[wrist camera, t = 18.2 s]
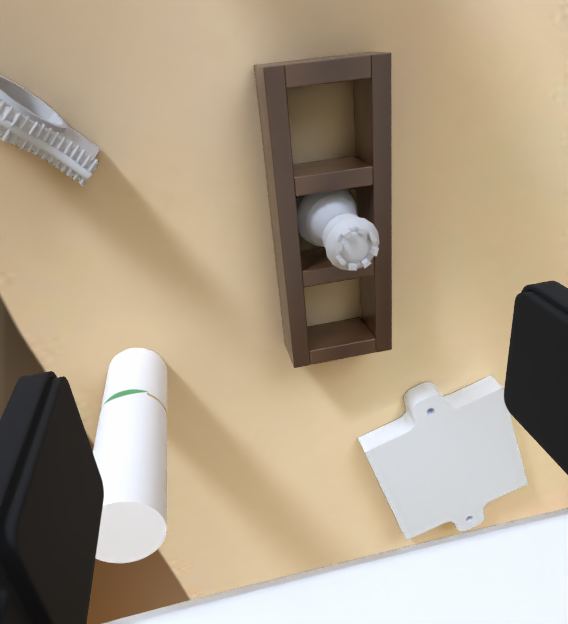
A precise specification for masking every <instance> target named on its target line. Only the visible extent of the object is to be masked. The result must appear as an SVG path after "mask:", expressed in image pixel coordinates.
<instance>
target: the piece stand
mask: <svg viewBox="0 0 568 624" xmlns="http://www.w3.org/2000/svg"><path fill="white" fill-rule="evenodd" d="M254 70H255V79H256V88H257V97H258V106H259V115H260V124H261V133H262V142H263V151H264V160H265V169H266V179H267V188H268V197H269V206H270V215H271V224H272V233H273V242H274V251H275V260H276V269H277V278H278V287H279V296H280V305H281V314H282V323H283V332H284V341H285V346H286V348H287V351H288V354H289V356H290V359H291V361H292V364H293V366H294V368H297V367H302V366H307V365H310V364H316V363H322V362H327V361H332V360H337V359H343V358H348V357H353V356H358V355H364V354H369V353H374V352H381V351H386V350H391V349H392V279H391V53H388V52H365V53H356V54H348V55H339V56H330V57H321V58H313V59H304V60H295V61H287V62H278V63H269V64H261V65H254ZM350 80H353V85H354V117H355V148H356V156H351V157H344V158H337V159H330V160H323V161H316V162H308V163H301V164H294V165H293V161H292V149H291V138H290V126H289V114H288V103H287V91H286V88H293V87H301V86H309V85H318V84H326V83H334V82H342V81H350ZM350 188H357V211H358V217H359V218H365V219H366V220H368V221H369V222H371V223H373V225H374V226H375V228H376V230H377V231H378V235H379V246H378V248H379V250H378V254H377V256H374V257H373V258H372V260H371V261H370V262H371V263H372V264H370V265H369V266H367V267H366V268H364V267H362V268H359V269H357V271H355V270H342V269H340V268H338V267H336V266H334V265H333V264H332V263H331V261H330V260H329V259H328V257H327V254H326V249H325V248H323V249H316V250H310V251H304V252H300V242H299V230H298V219H297V207H296V196H303V195H309V194H316V193H323V192H330V191H336V190H343V189H350ZM355 278H360V305H361V318H355V319H349V320H344V321H338V322H333V323H327V324H321V325H316V326H310V327H307V323H306V311H305V300H304V288H303V287H308V286H314V285H320V284H326V283H332V282H338V281H343V280H349V279H355Z"/></svg>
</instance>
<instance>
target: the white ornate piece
mask: <svg viewBox="0 0 568 624" xmlns="http://www.w3.org/2000/svg"><path fill="white" fill-rule="evenodd" d="M0 137H1V138H2V141H3V142H6V141H8V142H10V144H12V145H13V144H15V145H18V146H20V147H19V149H20V150H23V149H24V148H25V149H26V151H27V152H30V151H32V152H33V154H34V155H35V156H37V155H39V156H40V158H41V159H43V160H44V159H46V160H47V162H48V163H49V164H50V163H53V164H54V165H55V167H56V168H58V167H59V168H60V169H61V171H62V172H64V171H65V172H66V173H67V176H72V177H73V180H74V181H76V180H77V181H79V184H80V185H85V183H86V182H87V181H88V179H89V178H90V176H91V174H92V173H93V172H94V170H95V169H96V167H97V166H98V164H97V163H98V160H97V159H95V161H93V160H94V158H95V156H96V155H97V153H98V152H99V150H100V148H99V147H97V146H96V145H95V144H93V143H92V142H90V141H89V140H88V139H86V138H85V137H83V136H82V135H81V134H79V133H78V132H76V131H75V130H74V129H72V128H71V127H69V126H68V125H67V124H66V123H65V121H64V120H63V119H62V118H61V116H60V115H59V114H58V113H57V112H55V111H54V110H53V109H52V108H51V107H50V106H48V105H47V104H46V103H45V102H43V101H42V100H41V99H39V98H38V97H37V96H35V95H34V94H32V93H31V92H29V91H28V90H26V89H25V88H23V87H21V86H20V85H18V84H16V83H15V82H13V81H11V80H9V79H7V78H5V77H3V76H1V75H0Z"/></svg>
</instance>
